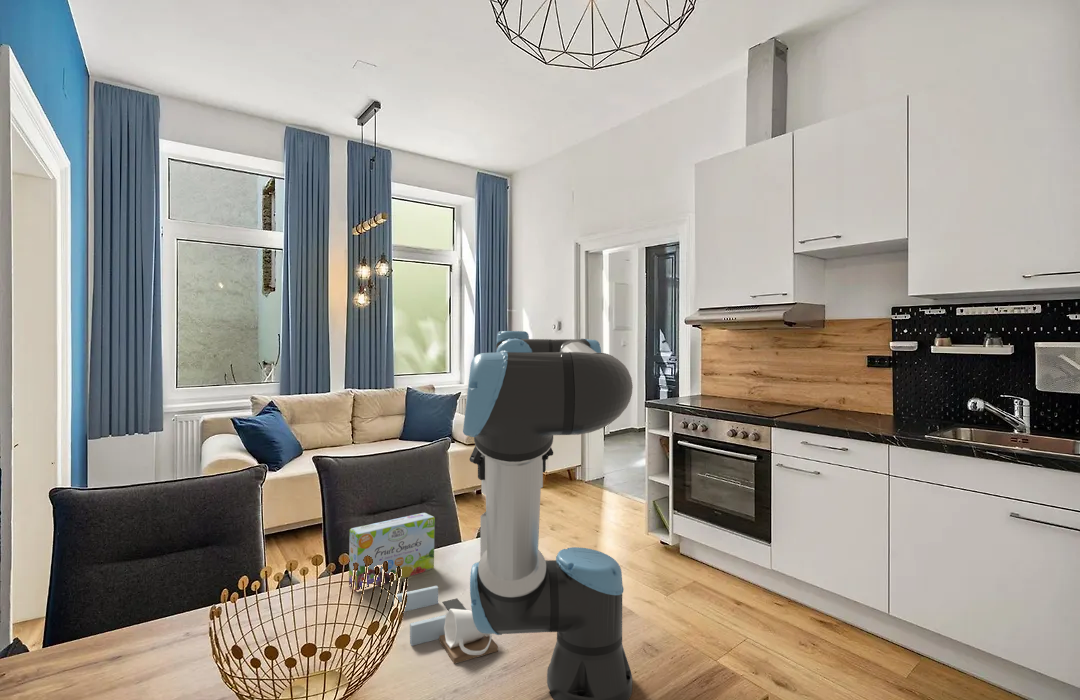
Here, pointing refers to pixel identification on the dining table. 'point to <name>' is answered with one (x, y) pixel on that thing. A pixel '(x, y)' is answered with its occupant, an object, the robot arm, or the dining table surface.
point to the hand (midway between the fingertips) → (512, 490)
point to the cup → (462, 630)
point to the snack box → (393, 547)
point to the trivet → (477, 645)
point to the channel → (428, 627)
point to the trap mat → (453, 604)
